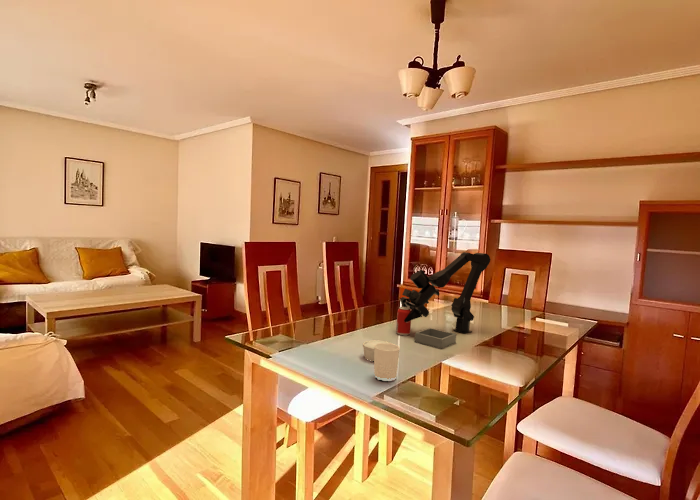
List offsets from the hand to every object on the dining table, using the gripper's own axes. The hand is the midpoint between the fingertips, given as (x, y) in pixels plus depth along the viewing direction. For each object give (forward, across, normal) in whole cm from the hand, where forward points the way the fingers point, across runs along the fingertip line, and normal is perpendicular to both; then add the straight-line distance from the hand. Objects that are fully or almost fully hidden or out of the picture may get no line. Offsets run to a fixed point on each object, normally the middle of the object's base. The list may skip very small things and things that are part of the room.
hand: (401, 319), depth 169 cm
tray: (-2, +14, +11) cm, 18 cm away
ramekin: (+21, +28, -12) cm, 37 cm away
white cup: (+25, +45, -15) cm, 54 cm away
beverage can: (+4, 0, +6) cm, 7 cm away
